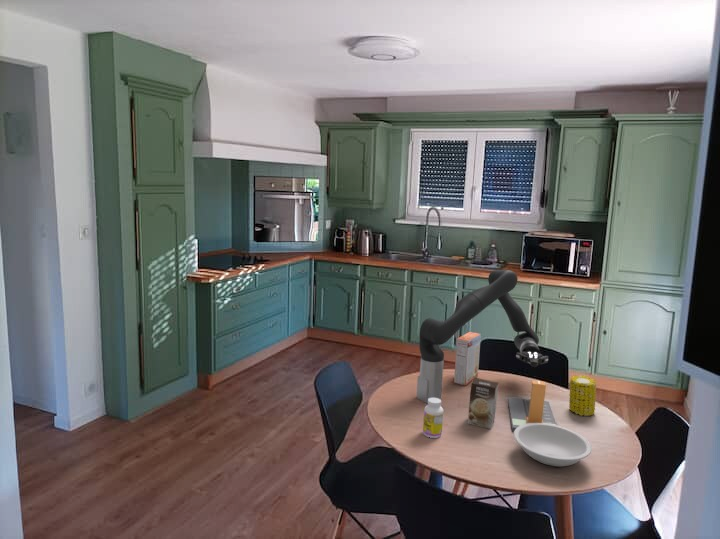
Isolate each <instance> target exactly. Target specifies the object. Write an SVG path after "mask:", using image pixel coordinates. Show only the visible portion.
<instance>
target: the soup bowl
mask: <svg viewBox="0 0 720 539" xmlns="http://www.w3.org/2000/svg"><path fill="white" fill-rule="evenodd" d="M513 438H514V440H515V442H516V443H517V444H518V445H520V447H521V449H522V450H523V451H524V452H525V453H526V454H527V455H528V457H531V458H532V459H534V460H535V461H537V462H539V463H542V464H544V465H548V466H551V467H567V466H571V465H574V464H576V463H578V462H580V461H581V460H583V459H586V458H587V457H589V456H590V455H591V454H592V451H593V450H592V445H591V443H590V442H589V440H588V439H587V438H586V437H584V436H583V435H581V434H580V433H578V432H577V431H575V430H572V429H570V428H567V427H564V426H560V425H559V424H558V425H557V424H556V425H553V424H547V423H528V424H523V425H521V426H519V427H517V428H516V429H515V431H514V432H513Z"/></svg>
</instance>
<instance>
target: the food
mask: <svg viewBox="0 0 720 539" xmlns="http://www.w3.org/2000/svg"><path fill="white" fill-rule="evenodd" d="M569 383H570V384H569V394H568V395H569V410H570V411H571V412H572V413H575V414H576V415H579V416H582V417H583V416H584V417H587V416H592V415H594V414H595V410H596V399H597V398H596V397H597V395H596V394H597V392H596V391H597V388H596V387H597V383H596V380H595V379H593V378H591V377H590V376H586V375H584V374H583V375H580V374H579V375H574V376H571V377H570V381H569Z"/></svg>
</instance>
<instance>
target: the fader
mask: <svg viewBox="0 0 720 539" xmlns="http://www.w3.org/2000/svg"><path fill="white" fill-rule="evenodd" d="M546 387H547V385H546V382H545V381H542V380H541V381H540V380H531V388H530V396H529V399H530V406H529V415H528V417H526V422H531V423H543V421H542V416H543V407H544V401H545V397H546Z"/></svg>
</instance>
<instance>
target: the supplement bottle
mask: <svg viewBox="0 0 720 539" xmlns="http://www.w3.org/2000/svg"><path fill="white" fill-rule="evenodd" d="M423 411H424V413H423V424H422V425H423V426H422V434H423V435H424V437H427V438H429V437H430V439H437V438H440V437H441V436H442V434H443V423H444V408H443V407H442V399H441V400H440V399H438V398H429V399H428V403H427V405H426V406H425V407H424V410H423Z"/></svg>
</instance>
